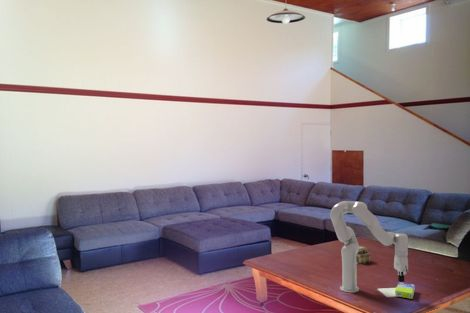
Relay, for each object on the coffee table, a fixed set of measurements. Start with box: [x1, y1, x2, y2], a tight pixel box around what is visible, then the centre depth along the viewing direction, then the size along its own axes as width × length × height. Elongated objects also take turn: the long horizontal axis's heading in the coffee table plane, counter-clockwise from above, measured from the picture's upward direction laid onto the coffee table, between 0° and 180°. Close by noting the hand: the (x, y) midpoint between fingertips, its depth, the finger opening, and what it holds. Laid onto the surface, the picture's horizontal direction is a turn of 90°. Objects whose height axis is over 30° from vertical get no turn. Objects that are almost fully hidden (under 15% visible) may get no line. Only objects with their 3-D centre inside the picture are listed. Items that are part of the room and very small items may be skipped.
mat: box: [377, 287, 399, 298], centre depth 264 cm, size 14×16×1 cm
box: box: [395, 281, 416, 299], centre depth 261 cm, size 10×4×17 cm
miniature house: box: [356, 245, 372, 265], centre depth 333 cm, size 15×14×11 cm
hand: (401, 281), depth 253 cm, fingers closed
